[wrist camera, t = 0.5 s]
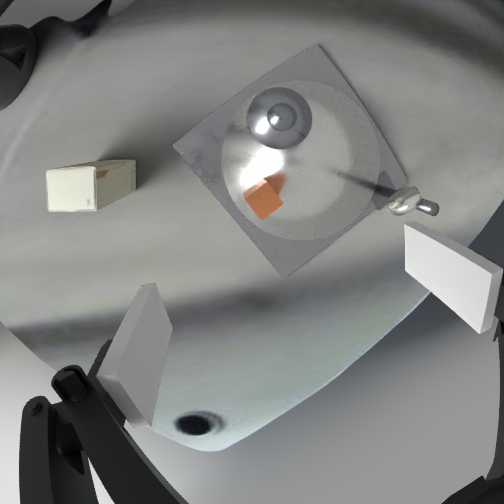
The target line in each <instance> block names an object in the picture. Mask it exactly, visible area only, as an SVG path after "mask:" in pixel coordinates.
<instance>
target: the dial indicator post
mask: <svg viewBox="0 0 504 504" xmlns="http://www.w3.org/2000/svg"><path fill="white" fill-rule="evenodd" d="M371 199H372V200H373V202H374V204H375V206H376V208H375V209H377V210H380V209H381V208H382V207H384V206H385V205H386V204H388V207H389V208H390V210H391V212H392V214H394V215H398V216H399V215H405V214H407V213H410V212H412V211H413V210H415V209H417V210H420V211H422V212H424V213H427V214H429V215H432V216H436V215H437V214H438V212H439V206H438V204H437V203H434V202H431V201H428V200H425V199H422V196H421V194H420V192H419V190H418V188H417V187H414V186H410V187H405V188H403V189H400V190H399V191H398V190H396V188H395V187H394V185H393V183H392V181H391V179H390V177H389V176H388V174H387V172H386V171H384V172H383V173H382V174H381V175H379V177H378V181H377V185H376V188H375V190H374V193H373V195H372V197H371Z"/></svg>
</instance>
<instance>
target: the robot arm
mask: <svg viewBox="0 0 504 504" xmlns="http://www.w3.org/2000/svg"><path fill="white" fill-rule="evenodd" d="M13 1H14V0H0V16H1V15H2V14H3V13H4V12H5V10H6V9H7V8H8V7H9V5H10V4H11V3H12V2H13ZM36 51H37V42H36V38H35V35H34V33H33V32H32V31H31V30H30V29H29V28H26V27H24V26H22V25H17V24H10V25H0V110H2V109H4V108H5V107H7V106H8V105H9V104H10V103H11V102H12V101H13V100H14V99H15V98H16V97H17V96H18V94H19V93H20V92H21V90H22V89H23V87H24V85H25V84H26V82H27V80H28V78H29V76H30V74H31V71H32V68H33V65H34V62H35V58H36ZM404 225H405V271H406V272H408V273H409V274H410V275H411V276H413V277H414V278H415V279H416V280H417V281H419V282H420V283H421V284H422V285H424V286H425V287H426V288H427V289H428V290H430V291H431V292H432V293H433V294H434V295H436V296H437V297H438V298H439V299H440V300H442V301H443V302H444V303H445V304H447V306H449V307H450V308H451V309H452V310H453V311H454V312H456V313H457V314H458V315H459V316H460V317H461V318H462V319H463V320H465V321H466V322H467V323H468V324H469V325H470V326H471V327H472V328H473V329H474V330H476V331H477V332H478V333H479V334H481V333H482V332H484V331H486V330H488V329H489V328H491V325H492V322H493V318H494V315H495V316H496V317H497V318H498V319H499V321H498V325H497V328H496V332H495V335H494V340H493V341H495V340H496V338H497V337H498V342H499V358H500V407H499V423H498V433H497V442H496V450H495V457H494V461H493V464H492V467H491V469H490V471H489V473H488V475H487V477H486V480H485V479H484V477H483V476H481V477H479V478H478V479H476V480H475V481H473V482H472V483H470V484H469V485H467V486H465V487H464V488H462V489H461V490H459V491H457V492H456V493H454V494H452V495H451V496H450V497H449V498H447V499H446V500H445V501H444V502H443V503H442V504H504V268H503V267H502V266H500V265H498V264H497V263H495V262H493V261H491V260H490V259H488V258H485V257H484V256H483V255H481V254H479V253H477V252H474V251H472V250H470V249H468V248H466V247H465V246H463V245H461V244H459V243H457V242H455V241H453V240H452V239H450V238H448V237H446V236H444V235H442V234H440V233H438V232H436V231H434V230H432V229H430V228H428V227H426V226H424V225H422V224H420V223H418V222H416V221H415V222H411V223H407V224H404ZM172 329H173V327H172V325H171V322H170V320H169V318H168V315H167V313H166V310H165V308H164V305H163V303H162V300H161V297H160V295H159V292H158V290H157V287H156V284H155V283H151V284H146V285H142V286H141V287H140V289H139V291H138V292H137V294H136V296H135V298H134V300H133V302H132V304H131V306H130V308H129V310H128V311H127V313H126V315H125V317H124V319H123V321H122V323H121V325H120V327H119V329H118V331H117V333H116V335H115V337H114V339H111V340H108V341H107V342H106V343H105V344H104V345H103V346H102V347H101V349H100V351H99V353H98V355H97V357H96V359H95V361H94V364H93V365H92V367H91V369H90V371H89V373H88V375H87V376H86V374H85V373H84V371H83V370H82V368H81V367H80V366H78V365H70V366H67V367H64V368H62V369H61V370H60V371H58V372H57V373H56V374H55V376H54V377H53V379H52V381H51V386H52V387H53V389H54V390H55V391H56V393H57V394H58V395H59V397H60V398H61V399H62V402H59V403H55V404H52V405H51V403H50V402H49V401H48V399H47V398H46V397H45V396H37V397H34V398H32V399H30V401H28V402H27V403H26V405H25V406H24V409H23V412H22V422H21V433H20V450H19V488H20V504H99V503H98V500H97V496H96V492H95V488H94V484H93V480H92V475H91V471H90V466H89V461H88V458H89V460H90V462H91V464H92V465H93V468H94V469H95V471H96V473H97V475H98V476H99V478H100V480H101V482H102V484H103V485H104V487H105V489H106V490H107V492H108V494H109V495H110V497H111V499H112V500H113V502H114V503H115V504H189V503H188V502H187V501H186V500H185V499H184V498H183V497H182V496H181V495H180V494H179V493H178V492H177V491H176V490H175V489H174V488H173V487H172V486H171V485H170V484H169V483H168V481H167V480H166V479H165V478H164V477H163V476H162V474H161V473H160V472H159V471H158V470H157V469H156V467H155V466H154V465H153V464H152V463H151V461H150V460H149V459H148V458H147V457H146V455H145V454H144V453H143V451H142V450H141V449H140V448H139V446H138V445H137V444H136V442H135V441H134V440H133V438H132V437H131V436H130V434H129V433H128V431H127V430H126V429H125V428H124V423H125V420H126V419H127V421H128V422H129V423H130V425H131V426H132V427H133V428H145V427H151V425H152V420H153V415H154V410H155V405H156V400H157V395H158V390H159V386H160V381H161V376H162V372H163V367H164V363H165V359H166V354H167V350H168V346H169V342H170V337H171V333H172Z"/></svg>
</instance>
